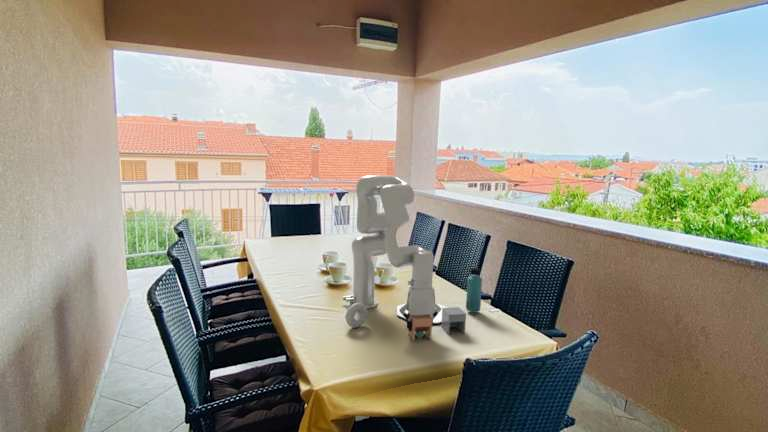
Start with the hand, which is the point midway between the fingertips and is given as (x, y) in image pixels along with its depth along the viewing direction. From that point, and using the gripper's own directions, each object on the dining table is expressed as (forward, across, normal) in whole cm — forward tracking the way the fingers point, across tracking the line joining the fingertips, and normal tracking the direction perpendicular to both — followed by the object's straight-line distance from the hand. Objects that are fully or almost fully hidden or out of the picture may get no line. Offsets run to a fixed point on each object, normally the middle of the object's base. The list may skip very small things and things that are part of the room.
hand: (419, 328), depth 150 cm
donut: (+4, -22, +13) cm, 25 cm away
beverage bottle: (+4, +31, +20) cm, 37 cm away
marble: (+3, 0, 0) cm, 3 cm away
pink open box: (+3, 0, 0) cm, 3 cm away
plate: (+4, +9, +22) cm, 24 cm away
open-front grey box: (+3, +15, +4) cm, 16 cm away
